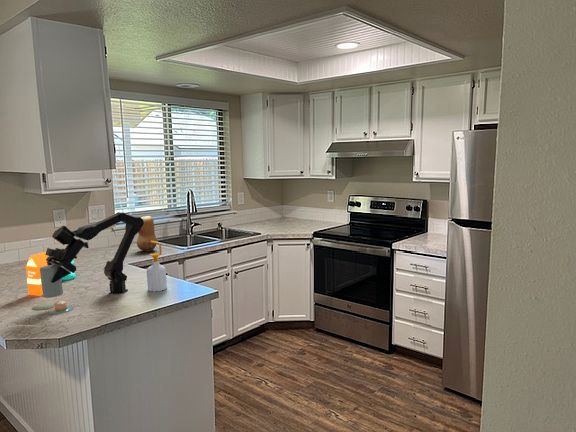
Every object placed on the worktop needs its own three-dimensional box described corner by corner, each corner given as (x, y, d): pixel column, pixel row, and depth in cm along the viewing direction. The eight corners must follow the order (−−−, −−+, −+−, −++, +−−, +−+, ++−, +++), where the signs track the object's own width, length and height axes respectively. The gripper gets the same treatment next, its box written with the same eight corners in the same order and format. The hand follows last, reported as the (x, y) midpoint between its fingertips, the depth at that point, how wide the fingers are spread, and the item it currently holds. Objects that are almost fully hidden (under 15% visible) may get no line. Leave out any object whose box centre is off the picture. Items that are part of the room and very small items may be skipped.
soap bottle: (147, 288, 218) (143, 240, 214) (165, 285, 221) (162, 238, 218) (148, 292, 210) (145, 243, 206) (168, 290, 213) (165, 241, 210)
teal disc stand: (79, 307, 192) (78, 299, 191) (63, 315, 182) (63, 307, 181) (59, 306, 193) (58, 298, 193) (42, 314, 184) (41, 306, 183)
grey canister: (66, 291, 192) (62, 264, 190) (57, 297, 185) (54, 268, 183) (48, 292, 192) (45, 265, 190) (39, 298, 184) (35, 269, 183)
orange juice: (28, 295, 211) (24, 255, 208) (44, 290, 219) (40, 251, 216) (40, 296, 208) (35, 256, 205) (55, 291, 216) (51, 252, 213)
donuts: (59, 264, 231) (50, 261, 236) (61, 282, 232) (51, 279, 238) (77, 260, 239) (68, 258, 244) (79, 277, 240) (69, 275, 246)
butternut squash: (133, 252, 303) (130, 216, 300) (149, 248, 314) (147, 214, 311) (146, 254, 296) (143, 218, 292) (161, 250, 306) (159, 215, 303)
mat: (62, 303, 196) (62, 303, 196) (46, 311, 187) (46, 310, 187) (43, 303, 198) (43, 302, 198) (26, 310, 188) (26, 310, 188)
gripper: (48, 238, 194) (23, 267, 187) (66, 242, 182) (40, 274, 175) (68, 252, 201) (45, 280, 194) (86, 257, 189) (62, 288, 182)
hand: (47, 280), depth 186 cm, fingers closed on grey canister, 8 cm apart
